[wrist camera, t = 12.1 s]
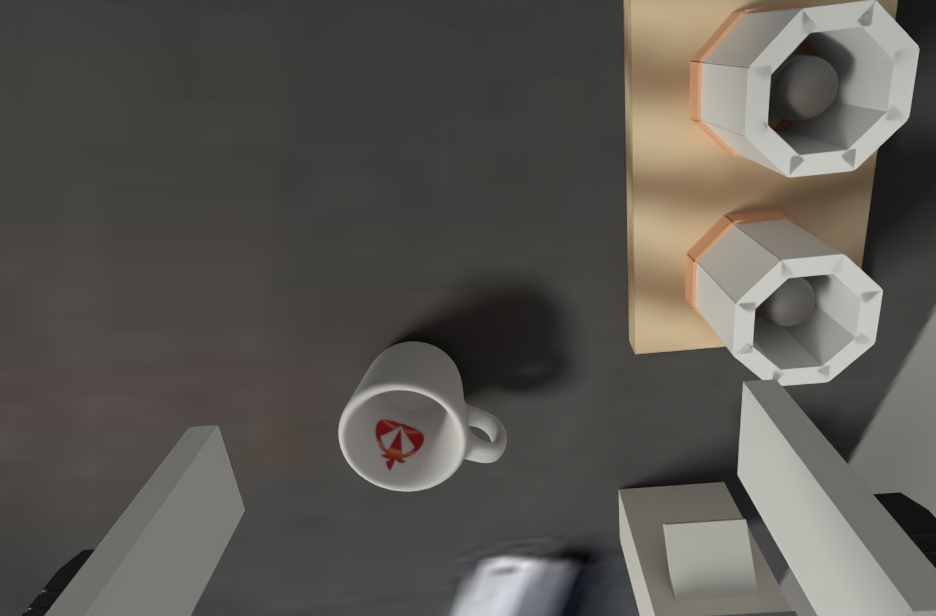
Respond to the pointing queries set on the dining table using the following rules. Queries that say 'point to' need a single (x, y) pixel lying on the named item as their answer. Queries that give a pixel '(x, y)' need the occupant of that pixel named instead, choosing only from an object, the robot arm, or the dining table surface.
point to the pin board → (716, 171)
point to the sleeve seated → (818, 34)
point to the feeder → (694, 554)
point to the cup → (414, 421)
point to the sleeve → (759, 274)
